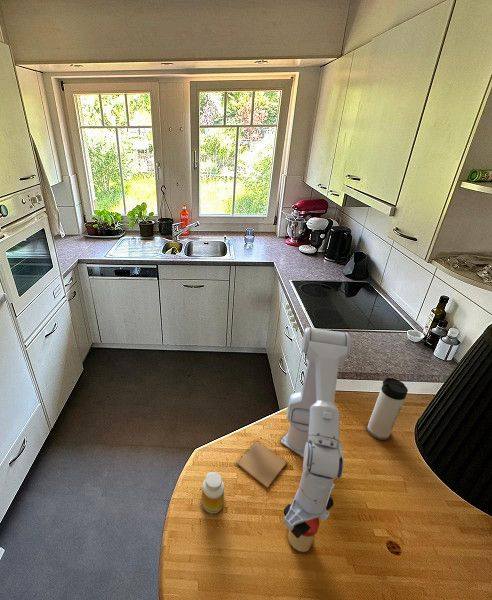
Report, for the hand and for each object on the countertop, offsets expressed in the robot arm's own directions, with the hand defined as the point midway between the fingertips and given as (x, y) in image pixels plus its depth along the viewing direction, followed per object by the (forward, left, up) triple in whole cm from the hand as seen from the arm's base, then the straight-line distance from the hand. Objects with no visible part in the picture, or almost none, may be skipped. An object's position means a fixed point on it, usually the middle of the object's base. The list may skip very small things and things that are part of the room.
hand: (303, 524), depth 72 cm
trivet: (-10, -17, -6) cm, 21 cm away
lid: (0, 0, +2) cm, 2 cm away
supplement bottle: (+8, -20, -6) cm, 22 cm away
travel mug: (-45, +3, -6) cm, 46 cm away
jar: (0, 0, -6) cm, 6 cm away
